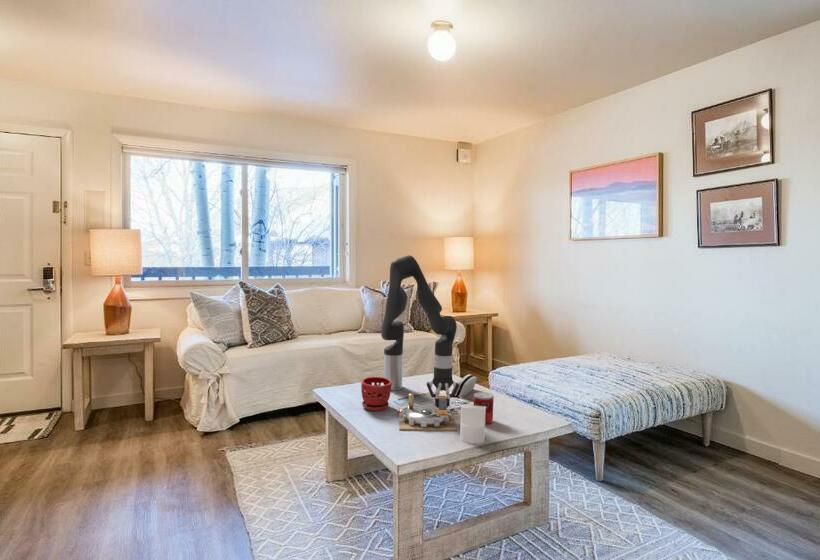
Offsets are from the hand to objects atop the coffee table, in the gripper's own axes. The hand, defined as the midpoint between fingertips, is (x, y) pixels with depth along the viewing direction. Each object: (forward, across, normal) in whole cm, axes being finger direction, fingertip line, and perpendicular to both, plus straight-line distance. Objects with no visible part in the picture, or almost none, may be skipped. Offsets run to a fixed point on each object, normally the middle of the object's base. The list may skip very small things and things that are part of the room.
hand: (442, 406), depth 191 cm
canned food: (+6, +17, -1) cm, 18 cm away
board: (+5, -6, 0) cm, 8 cm away
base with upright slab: (+6, +10, -18) cm, 21 cm away
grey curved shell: (+6, +14, +35) cm, 38 cm away
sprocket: (+5, -6, 0) cm, 8 cm away
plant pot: (+6, -27, +14) cm, 31 cm away
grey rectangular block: (0, 0, 0) cm, 0 cm away
